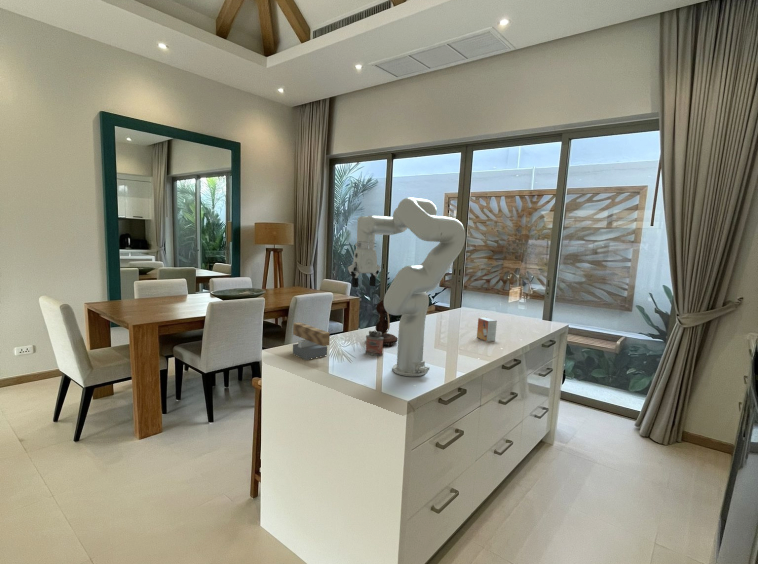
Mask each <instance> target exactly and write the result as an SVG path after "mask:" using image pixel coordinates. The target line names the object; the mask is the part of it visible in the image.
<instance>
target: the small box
mask: <svg viewBox="0 0 758 564" xmlns="http://www.w3.org/2000/svg"><path fill="white" fill-rule="evenodd" d="M497 322H498V321H497V320H495V319H492V318H488V317H478V320H477V330H476V332H477V333H476V338H477V337H478V338H477V339H480V340H482V339H483V341H485V342H494V340H495V341H496V333H497V324H498V323H497Z"/></svg>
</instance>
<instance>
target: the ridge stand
mask: <svg viewBox="0 0 758 564" xmlns="http://www.w3.org/2000/svg"><path fill="white" fill-rule="evenodd" d="M297 342H298V343H294V344H292V354H293V355H294V354H295V355H294V356H296V355H297V357H298V356H299V358H300V357H301V358H300V359H302V358H303V360H305V361H308V359H310V360H312V359H311V358H315V359H317V358H316V357H319V358H321V357H320V356H324V357H326V356H325V355H327V356H328V345H327V346H321V345H318V344H316V343H313V342H311V341H308V340H306V339H301V340H298V341H297Z"/></svg>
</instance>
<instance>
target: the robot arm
mask: <svg viewBox="0 0 758 564" xmlns="http://www.w3.org/2000/svg"><path fill="white" fill-rule="evenodd" d="M356 226H357V229H356V243H355V244H354V245H355V247H356V249H355V251H354V255H353V261H352V262H353V263H352V264H350V265H349V266H347V270H348V273H349V275H350V277H351V278H352V280H351V287H352V288H359V275H360V274H369V275H370V276H369V283H368V284H369V286H370V287H376V281H377V277H378V274H379V273H380V270H381V266H380V265H379V264H378V257H377V251H376V249H375V240H376V235H380V236H381V235H382V236H395V235H398V234H400V233H402V234H403V233H405V232H406V231H407V229H409V231H410V232H411V233H412V234H413V235H414V236H416V237H417V238H418V239H419V240H422V241H423V242H430V243H431V242H433V243H434V242H436V243H438V244H437V245H435V247H433V248H432V249H431V250H430V251H429V252H428V254H427V256H426V258H425V259H424V260H423V261H422V263H420V264H417V265H415V264H411V265H406V266H404V267H402V268H401V269H400V270H398V272H397V274H396V275H395V277H394V278H393V280H392V281H391V283H390V286H389V287H388V289H387V291H386V292H385V294H384V297H383V300H384V308H385V310H386V311H387V312H388V313H389V315H391V316H401V317H400V319H399V323H398V336H397V338H398V339H397V340H398V341H397V355H396V357H397V359H396V364H394V365H392V372H393V373H394V374H397V375H400V376H405V377H421V376H424V375H426V374H428V373H429V371H430V367H429V366H427V365H425V364H426V362H425V360H423V359H424V345H425V344H424V343H425V326H426V318H427V317H426V316H427V313H428V309H429V304H430V298H429V295H428V293H429V292H433V291H434V290H435V289H436V288H437V287H438V286H439V284H440V283H441V280H442V279H443V278H444V276H445V274H447V272H448V270H449V269H450V267H451V266H452V264H453V263H454V262H455V260H456V259H457V258H458V256H459V255H460V253H461V252H462V250H463V248H464V245H465V242H466V230H465V228H464V225H463V223H462V222H461V221H459V220H458V219H456V218H454V217H450V216H445V215H444V216H443V215H437V206H436V204H434V203H433V201H431V200H429V199H425V198H419V197H418V198H417V197H411V196H410V197H406V198H403V199H402V200H401V201H400V202H399V203H398V205H397V207H396V208H395V209H394V211H393V214H392V216H386V215H368V216H362V215H361V216H359V217H358V219H357V225H356Z"/></svg>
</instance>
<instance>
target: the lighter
mask: <svg viewBox="0 0 758 564" xmlns="http://www.w3.org/2000/svg"><path fill="white" fill-rule="evenodd" d="M379 335H382V332H378V331H376V329H374V330H369V331H368V334H367V335H365V338H366V341H365V345H366V346H365V352H364V353H365V354H368V355H370V354H372V355H371V356H375V357H376V356H378V357H382V356H383V355H384V353H383V348H384V347H383V346H384V344H383V339H384V338H383V337H379Z"/></svg>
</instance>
